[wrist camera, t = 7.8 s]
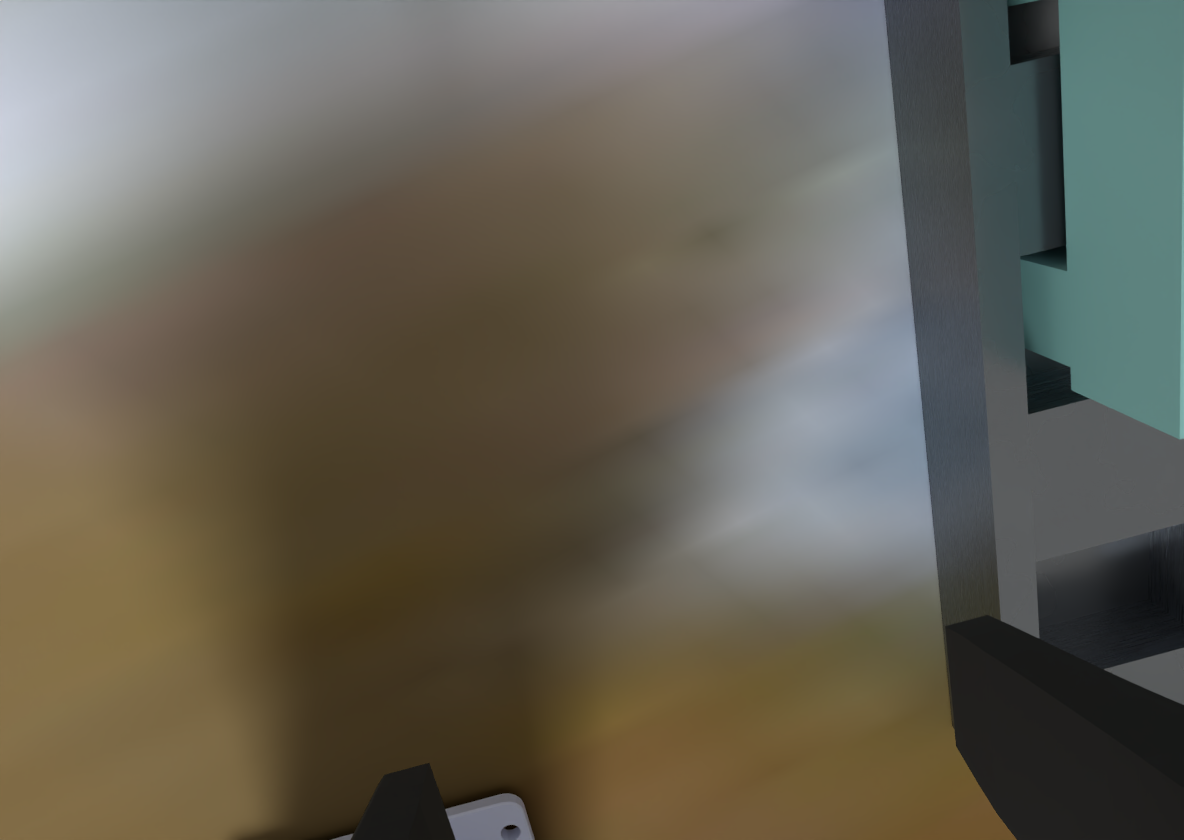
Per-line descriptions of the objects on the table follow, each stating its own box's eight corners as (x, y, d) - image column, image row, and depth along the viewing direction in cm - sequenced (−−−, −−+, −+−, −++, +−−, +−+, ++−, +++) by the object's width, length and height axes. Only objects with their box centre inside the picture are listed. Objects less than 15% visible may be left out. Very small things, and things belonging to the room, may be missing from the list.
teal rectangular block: (1120, 331, 21) (1329, 400, 16) (1005, 360, 21) (1179, 438, 16) (1113, -159, 17) (1377, -271, 12) (977, -128, 17) (1186, -229, 12)
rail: (1153, 672, 25) (1238, 741, 23) (952, 726, 25) (1013, 803, 22) (1153, -349, 17) (1286, -439, 15) (857, -286, 17) (934, -366, 14)
